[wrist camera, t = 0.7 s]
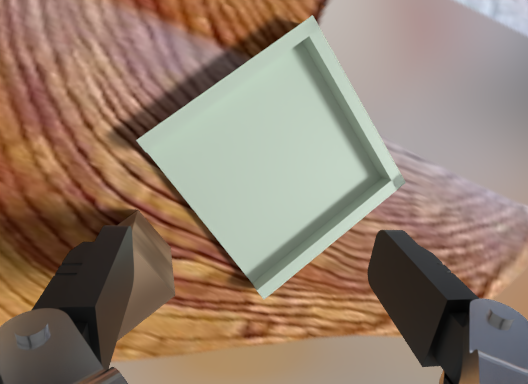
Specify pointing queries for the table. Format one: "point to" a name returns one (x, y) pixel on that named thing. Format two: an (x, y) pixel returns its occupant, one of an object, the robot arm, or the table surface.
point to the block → (147, 273)
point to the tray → (277, 157)
